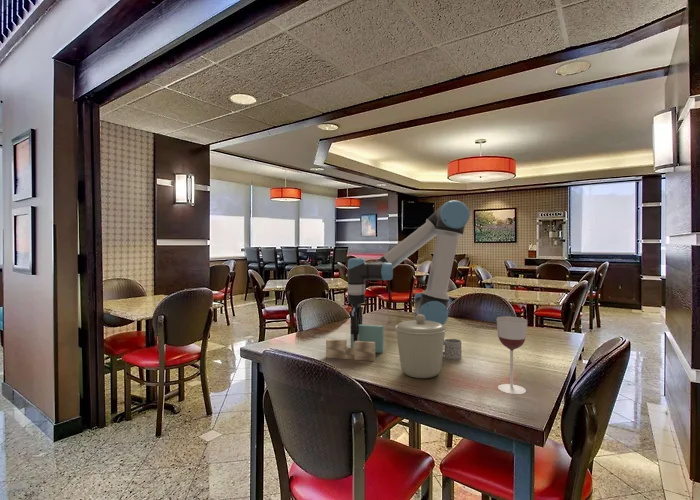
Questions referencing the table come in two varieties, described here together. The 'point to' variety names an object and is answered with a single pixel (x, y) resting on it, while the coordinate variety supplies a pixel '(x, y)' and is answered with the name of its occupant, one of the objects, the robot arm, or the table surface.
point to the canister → (420, 346)
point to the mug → (452, 349)
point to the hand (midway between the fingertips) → (356, 347)
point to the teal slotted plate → (371, 336)
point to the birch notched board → (350, 350)
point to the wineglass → (511, 345)
